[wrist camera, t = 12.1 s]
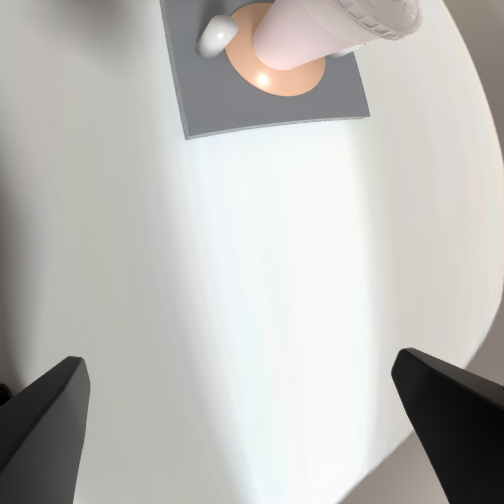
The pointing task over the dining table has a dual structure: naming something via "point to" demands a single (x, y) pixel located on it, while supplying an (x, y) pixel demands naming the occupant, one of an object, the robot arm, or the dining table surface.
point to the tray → (249, 73)
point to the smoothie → (329, 28)
